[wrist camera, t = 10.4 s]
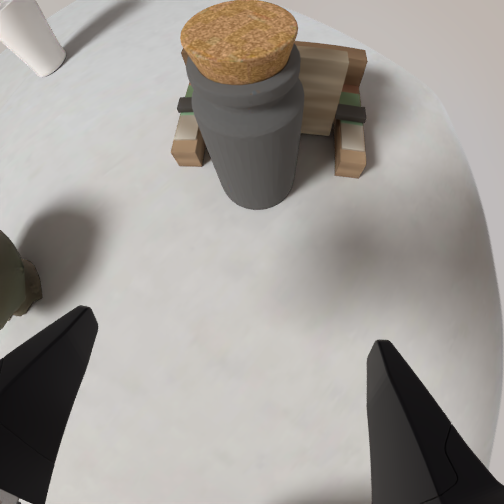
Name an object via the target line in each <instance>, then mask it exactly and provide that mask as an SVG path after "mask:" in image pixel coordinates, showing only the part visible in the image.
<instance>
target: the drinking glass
mask: <svg viewBox="0 0 504 504" xmlns="http://www.w3.org/2000/svg"><path fill="white" fill-rule="evenodd" d="M0 41H1V42H2V43H3V44H4V45H5V46H6V47H8V48H9V49H10V50H11V51H12V52H13V53H14V54H16V55H17V56H18V57H19V58H20V59H21V60H22V61H23V62H25V63H26V64H27V65H28V66H29V67H30V68H31V69H32V70H33V71H34V72H35V73H36V74H37V75H38V76H39V77H45V76H48V75H50V74H51V73H53V72H54V71H55V70H56V69H58V68H59V66H60V65H61V64H62V63H63V61H64V59H65V57H66V52H65V50H64V49H63V48H62V46H61V45H60V43H59V41H58V40H57V38H56V36H55V35H54V33H53V31H52V29H51V27H50V26H49V24H48V22H47V20H46V19H45V16H44V15H43V13H42V11H41V9H40V7H39V6H38V4H37V2H36V1H35V0H3V1H2V2H1V3H0Z"/></svg>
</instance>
